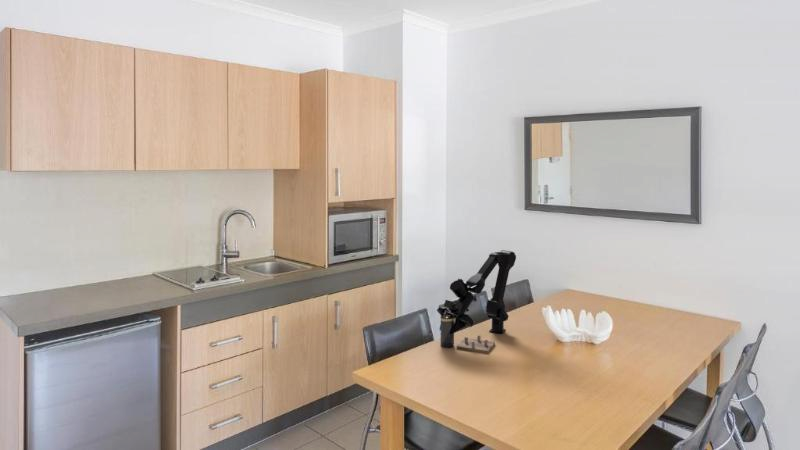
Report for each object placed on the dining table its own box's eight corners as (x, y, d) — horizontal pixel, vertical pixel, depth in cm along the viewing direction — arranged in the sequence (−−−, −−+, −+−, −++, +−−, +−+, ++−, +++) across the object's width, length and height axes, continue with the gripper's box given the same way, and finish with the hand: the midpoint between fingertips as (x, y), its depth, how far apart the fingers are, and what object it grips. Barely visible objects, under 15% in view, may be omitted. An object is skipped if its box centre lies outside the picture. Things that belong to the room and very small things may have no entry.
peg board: (464, 340, 249) (465, 332, 249) (495, 344, 244) (495, 336, 243) (456, 348, 239) (456, 340, 238) (487, 353, 233) (487, 345, 232)
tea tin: (443, 342, 246) (443, 314, 245) (455, 344, 244) (456, 316, 242) (438, 346, 241) (438, 318, 239) (451, 348, 238) (451, 320, 237)
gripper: (440, 289, 249) (421, 316, 244) (469, 297, 235) (450, 327, 229) (452, 303, 255) (434, 330, 250) (481, 311, 241) (463, 341, 235)
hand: (445, 332), depth 241 cm, fingers closed on tea tin, 6 cm apart
